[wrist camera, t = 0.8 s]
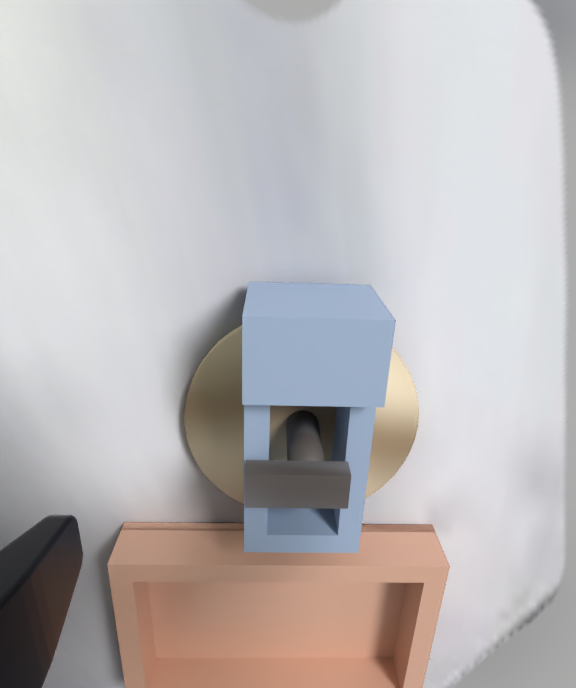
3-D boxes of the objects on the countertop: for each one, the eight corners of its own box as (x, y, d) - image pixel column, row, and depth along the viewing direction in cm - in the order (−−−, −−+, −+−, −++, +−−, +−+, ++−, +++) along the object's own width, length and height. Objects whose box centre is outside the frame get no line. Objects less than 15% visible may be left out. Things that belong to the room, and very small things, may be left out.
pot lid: (399, 508, 23) (431, 597, 18) (191, 506, 22) (170, 597, 18) (431, 311, 19) (480, 362, 14) (180, 305, 19) (150, 355, 14)
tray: (405, 660, 27) (418, 708, 25) (141, 661, 26) (128, 710, 24) (432, 524, 23) (449, 566, 21) (124, 522, 23) (107, 564, 20)
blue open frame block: (347, 501, 22) (362, 573, 18) (247, 500, 22) (242, 573, 18) (370, 285, 18) (395, 320, 14) (249, 281, 18) (242, 316, 14)
